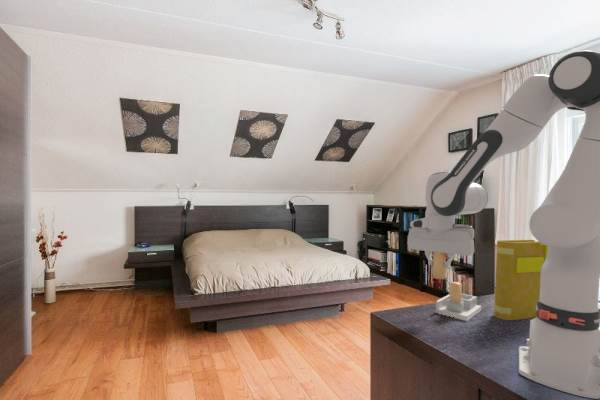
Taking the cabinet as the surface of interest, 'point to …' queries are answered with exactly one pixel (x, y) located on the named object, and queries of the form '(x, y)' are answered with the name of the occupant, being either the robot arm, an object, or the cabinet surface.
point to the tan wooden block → (439, 265)
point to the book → (518, 278)
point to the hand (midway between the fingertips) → (439, 266)
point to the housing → (458, 304)
